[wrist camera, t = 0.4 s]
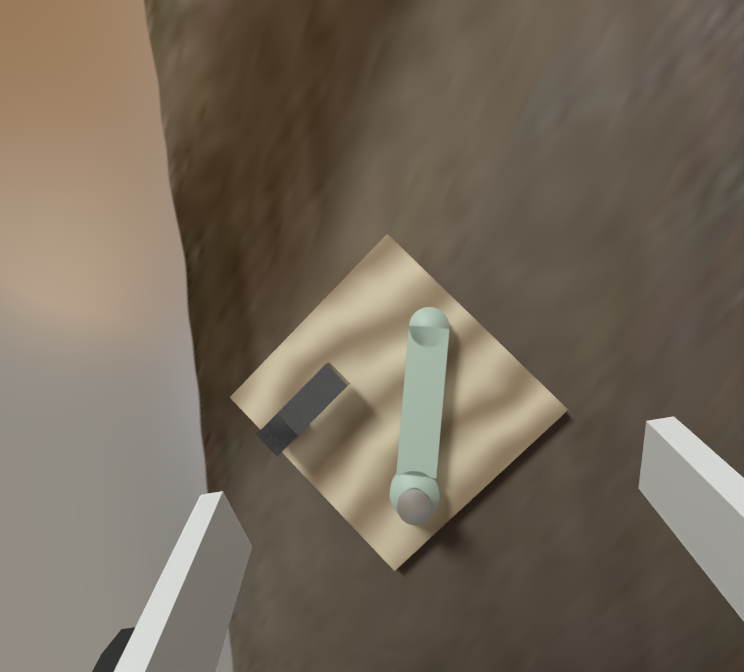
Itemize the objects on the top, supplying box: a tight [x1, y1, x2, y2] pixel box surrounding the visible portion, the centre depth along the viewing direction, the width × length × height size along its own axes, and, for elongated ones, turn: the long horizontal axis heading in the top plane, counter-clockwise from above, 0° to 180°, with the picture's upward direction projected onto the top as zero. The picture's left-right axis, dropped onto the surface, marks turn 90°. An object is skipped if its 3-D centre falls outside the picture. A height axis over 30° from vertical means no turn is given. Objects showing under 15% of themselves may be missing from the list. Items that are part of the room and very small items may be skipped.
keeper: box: [256, 362, 350, 456], centre depth 40 cm, size 3×10×4 cm, turn 135°
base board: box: [230, 234, 568, 571], centre depth 40 cm, size 26×25×7 cm
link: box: [390, 307, 450, 515], centre depth 40 cm, size 22×5×2 cm, turn 175°
